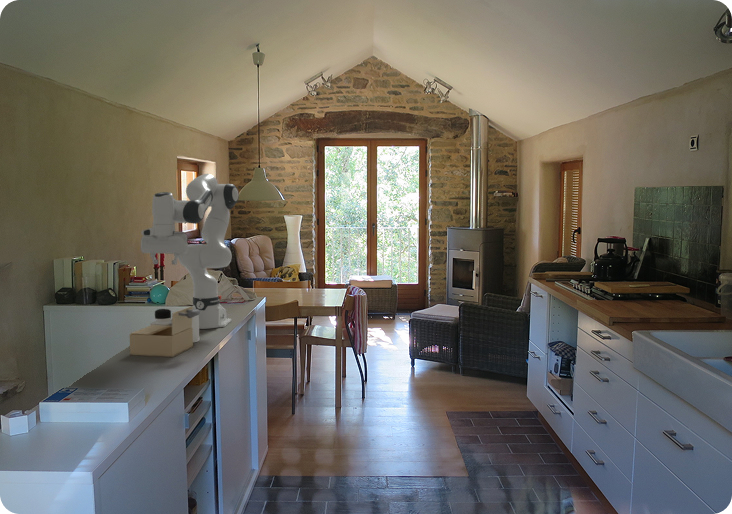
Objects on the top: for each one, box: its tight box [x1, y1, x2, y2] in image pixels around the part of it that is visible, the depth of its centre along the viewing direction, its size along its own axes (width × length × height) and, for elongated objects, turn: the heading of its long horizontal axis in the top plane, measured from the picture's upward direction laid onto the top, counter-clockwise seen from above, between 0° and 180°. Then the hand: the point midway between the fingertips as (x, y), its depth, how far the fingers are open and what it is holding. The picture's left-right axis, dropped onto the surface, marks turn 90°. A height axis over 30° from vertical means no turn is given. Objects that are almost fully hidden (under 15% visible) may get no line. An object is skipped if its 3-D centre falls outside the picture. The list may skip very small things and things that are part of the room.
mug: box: [190, 315, 201, 344], centre depth 245 cm, size 12×8×12 cm
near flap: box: [171, 305, 200, 335], centre depth 227 cm, size 15×9×6 cm
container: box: [149, 308, 172, 327], centre depth 250 cm, size 8×8×13 cm
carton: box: [129, 325, 194, 358], centre depth 231 cm, size 16×18×8 cm
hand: (165, 264), depth 243 cm, fingers open, 7 cm apart
